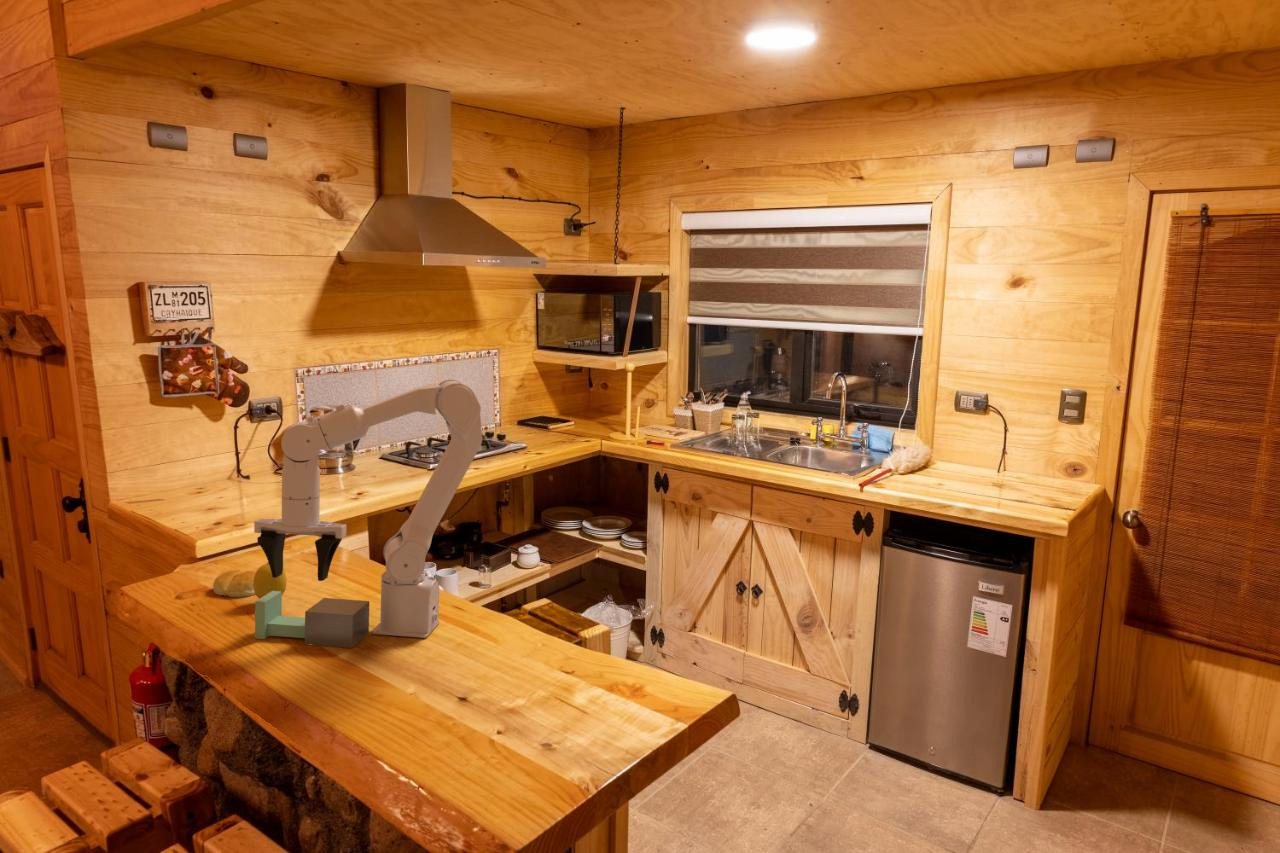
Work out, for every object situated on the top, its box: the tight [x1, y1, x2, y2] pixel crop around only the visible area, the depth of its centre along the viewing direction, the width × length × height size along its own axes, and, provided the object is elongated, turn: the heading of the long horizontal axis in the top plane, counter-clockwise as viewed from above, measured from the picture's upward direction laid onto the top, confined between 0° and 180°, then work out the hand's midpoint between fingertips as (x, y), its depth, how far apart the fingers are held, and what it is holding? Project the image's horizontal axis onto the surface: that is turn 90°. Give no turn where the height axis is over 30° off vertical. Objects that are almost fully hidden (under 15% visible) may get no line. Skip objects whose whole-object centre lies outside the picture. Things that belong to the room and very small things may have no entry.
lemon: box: [253, 561, 287, 600], centre depth 148 cm, size 6×6×8 cm
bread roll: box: [212, 569, 256, 598], centre depth 155 cm, size 8×9×4 cm
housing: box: [304, 597, 370, 649], centre depth 134 cm, size 8×7×6 cm
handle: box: [254, 591, 305, 640], centre depth 134 cm, size 14×6×6 cm, turn 87°
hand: (300, 577), depth 134 cm, fingers open, 7 cm apart
